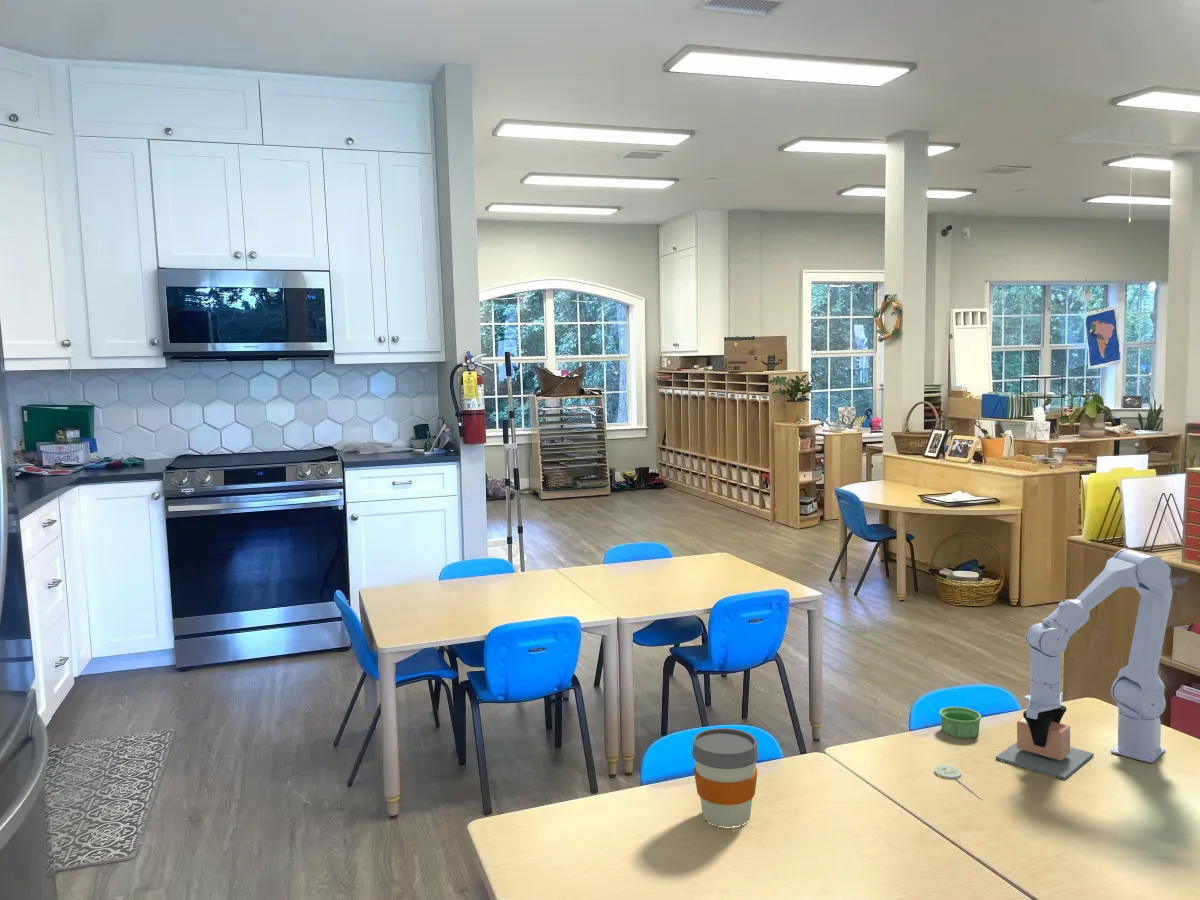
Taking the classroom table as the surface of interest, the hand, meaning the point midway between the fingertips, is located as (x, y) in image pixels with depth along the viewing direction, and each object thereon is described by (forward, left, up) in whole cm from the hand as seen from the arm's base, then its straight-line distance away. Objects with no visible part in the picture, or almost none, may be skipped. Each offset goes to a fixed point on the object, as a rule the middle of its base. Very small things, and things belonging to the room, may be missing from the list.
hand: (1044, 741), depth 187 cm
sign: (+24, -7, -4) cm, 25 cm away
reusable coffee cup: (+68, -32, -4) cm, 75 cm away
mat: (0, 0, -3) cm, 3 cm away
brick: (0, 0, -2) cm, 2 cm away
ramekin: (-1, -19, -4) cm, 20 cm away
